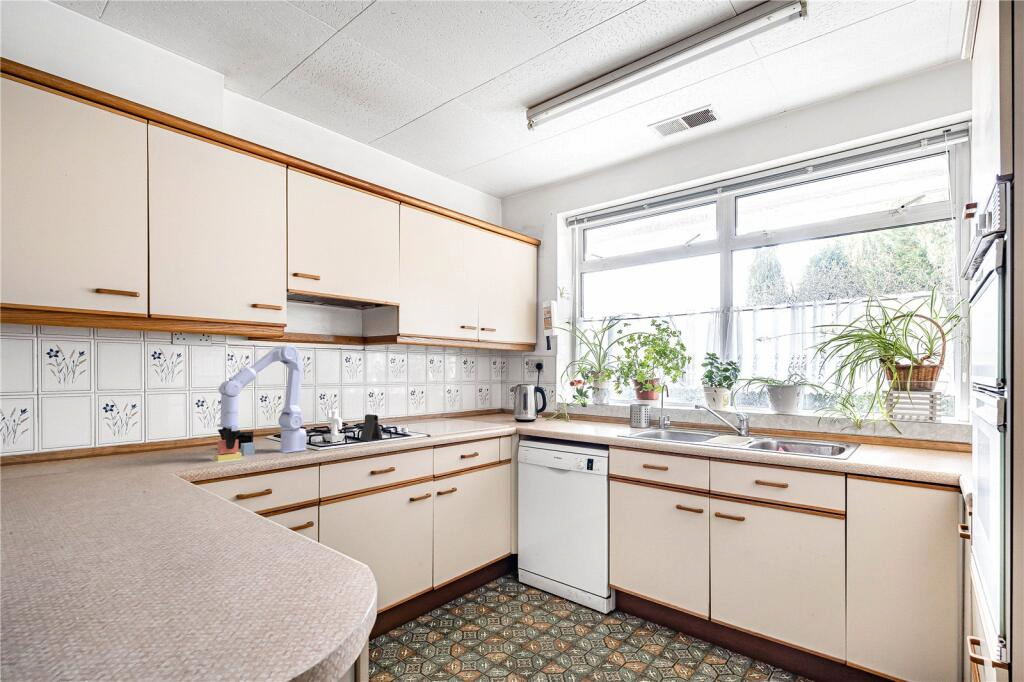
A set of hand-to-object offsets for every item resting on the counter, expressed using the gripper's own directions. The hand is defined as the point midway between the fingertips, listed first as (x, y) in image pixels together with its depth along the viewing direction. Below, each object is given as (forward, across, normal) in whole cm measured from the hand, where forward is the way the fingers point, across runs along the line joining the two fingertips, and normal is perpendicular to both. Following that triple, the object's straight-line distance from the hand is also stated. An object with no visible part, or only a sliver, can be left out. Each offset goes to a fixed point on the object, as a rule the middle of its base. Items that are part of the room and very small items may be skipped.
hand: (228, 448), depth 193 cm
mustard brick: (+4, 0, 0) cm, 4 cm away
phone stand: (+5, -5, +63) cm, 63 cm away
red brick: (+2, 0, 0) cm, 2 cm away
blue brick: (+4, -5, +8) cm, 11 cm away
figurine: (+4, -10, +47) cm, 48 cm away
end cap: (+5, -23, +11) cm, 26 cm away
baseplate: (+4, 0, 0) cm, 4 cm away
